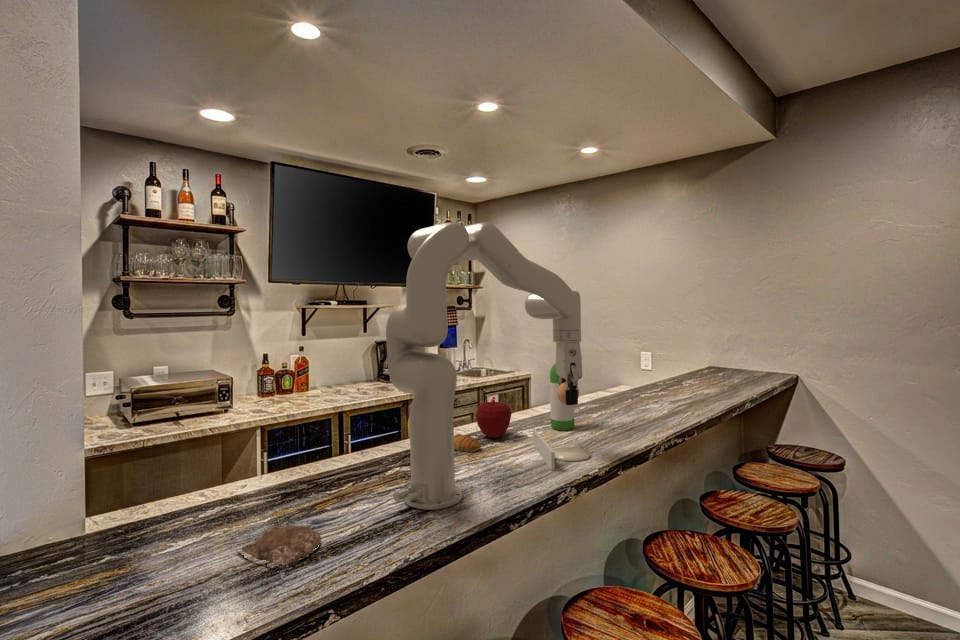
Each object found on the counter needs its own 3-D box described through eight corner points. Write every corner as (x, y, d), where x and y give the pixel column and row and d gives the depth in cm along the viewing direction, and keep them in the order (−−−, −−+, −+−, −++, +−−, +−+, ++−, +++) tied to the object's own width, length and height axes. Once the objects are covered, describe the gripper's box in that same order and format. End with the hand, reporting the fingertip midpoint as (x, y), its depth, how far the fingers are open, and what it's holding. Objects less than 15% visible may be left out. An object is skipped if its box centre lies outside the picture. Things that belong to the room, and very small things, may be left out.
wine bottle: (578, 427, 166) (576, 337, 164) (569, 432, 159) (567, 339, 158) (556, 424, 170) (554, 336, 169) (546, 429, 163) (545, 338, 162)
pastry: (486, 449, 144) (486, 436, 143) (470, 455, 139) (470, 442, 138) (462, 443, 150) (462, 431, 150) (447, 449, 145) (446, 436, 145)
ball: (572, 407, 131) (571, 384, 131) (552, 404, 135) (552, 382, 135) (583, 403, 136) (583, 381, 135) (564, 400, 140) (564, 379, 139)
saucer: (576, 464, 128) (576, 462, 128) (541, 456, 136) (541, 454, 135) (597, 454, 136) (597, 451, 136) (563, 446, 144) (563, 444, 144)
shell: (290, 529, 96) (290, 511, 96) (335, 546, 89) (334, 526, 89) (233, 555, 86) (232, 535, 86) (278, 576, 79) (277, 554, 79)
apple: (470, 439, 153) (469, 402, 153) (487, 431, 163) (486, 395, 162) (502, 443, 148) (501, 405, 148) (517, 435, 157) (516, 398, 157)
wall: (554, 470, 124) (554, 452, 124) (551, 470, 124) (551, 452, 124) (535, 444, 146) (535, 429, 146) (533, 445, 146) (532, 429, 146)
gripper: (590, 338, 126) (592, 408, 127) (571, 333, 144) (572, 395, 144) (562, 339, 126) (563, 409, 126) (545, 334, 143) (547, 396, 144)
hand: (568, 401), depth 135 cm, fingers closed on ball, 5 cm apart
